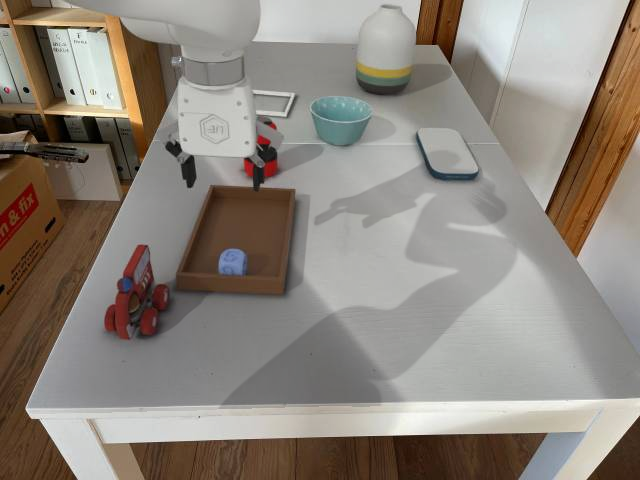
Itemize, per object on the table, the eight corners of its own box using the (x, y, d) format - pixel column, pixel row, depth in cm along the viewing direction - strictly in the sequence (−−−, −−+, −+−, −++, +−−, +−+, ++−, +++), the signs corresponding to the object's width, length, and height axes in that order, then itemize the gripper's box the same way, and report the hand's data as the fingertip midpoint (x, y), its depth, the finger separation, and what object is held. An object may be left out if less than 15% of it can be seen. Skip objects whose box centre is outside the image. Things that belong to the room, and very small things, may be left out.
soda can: (272, 181, 110) (271, 131, 103) (239, 176, 112) (236, 127, 104) (281, 164, 116) (280, 116, 109) (250, 160, 117) (247, 112, 110)
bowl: (366, 125, 134) (369, 96, 129) (373, 153, 122) (376, 122, 117) (308, 124, 134) (309, 94, 129) (309, 152, 121) (310, 120, 116)
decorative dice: (248, 266, 87) (246, 249, 84) (243, 282, 84) (241, 264, 81) (225, 264, 87) (223, 247, 84) (219, 280, 84) (217, 262, 81)
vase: (355, 77, 162) (361, -3, 147) (407, 80, 161) (419, 0, 146) (353, 97, 149) (359, 12, 134) (409, 101, 148) (422, 16, 133)
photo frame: (235, 87, 148) (294, 92, 147) (235, 91, 149) (294, 96, 148) (222, 107, 137) (286, 113, 136) (222, 111, 138) (286, 116, 136)
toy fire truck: (102, 346, 73) (83, 295, 67) (133, 287, 83) (120, 239, 76) (148, 350, 73) (134, 300, 66) (174, 291, 82) (164, 242, 76)
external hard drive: (413, 134, 131) (414, 127, 130) (456, 134, 132) (457, 128, 131) (431, 181, 113) (432, 173, 112) (480, 182, 113) (483, 174, 112)
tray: (283, 294, 83) (283, 280, 81) (178, 289, 83) (175, 275, 81) (295, 202, 104) (295, 188, 102) (212, 198, 104) (210, 184, 102)
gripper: (136, 75, 60) (158, 195, 70) (280, 82, 60) (281, 202, 70) (154, 55, 66) (172, 169, 76) (285, 62, 65) (285, 175, 76)
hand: (224, 185), depth 73 cm, fingers open, 9 cm apart
